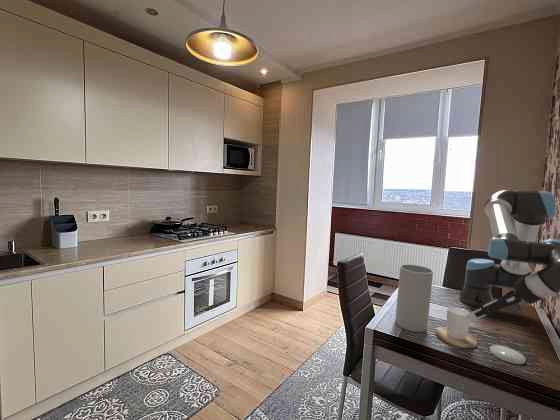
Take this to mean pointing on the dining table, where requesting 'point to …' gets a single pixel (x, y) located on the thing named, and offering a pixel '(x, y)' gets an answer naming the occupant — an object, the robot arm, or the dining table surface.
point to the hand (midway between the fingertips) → (476, 314)
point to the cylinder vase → (413, 297)
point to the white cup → (457, 322)
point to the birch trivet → (465, 343)
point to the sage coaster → (507, 354)
